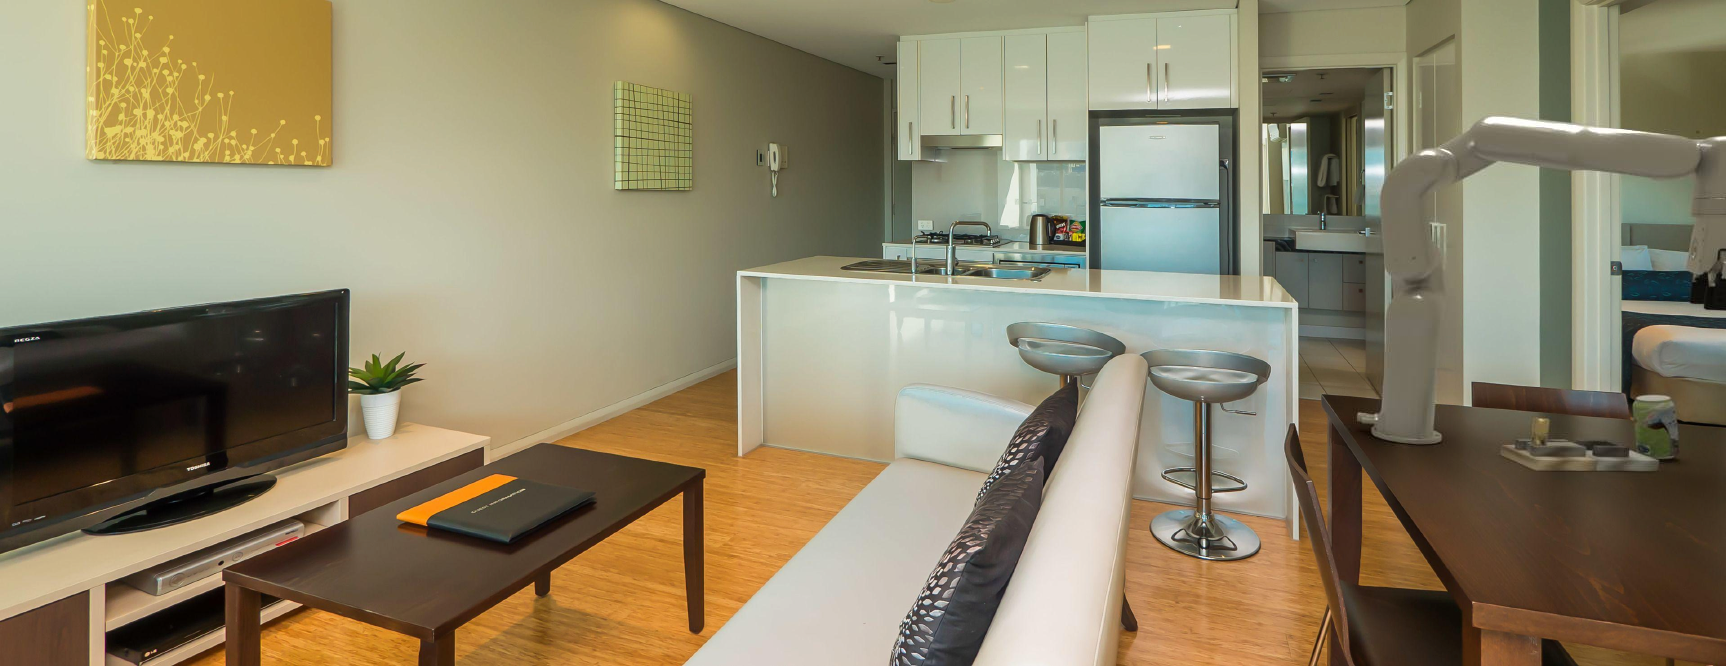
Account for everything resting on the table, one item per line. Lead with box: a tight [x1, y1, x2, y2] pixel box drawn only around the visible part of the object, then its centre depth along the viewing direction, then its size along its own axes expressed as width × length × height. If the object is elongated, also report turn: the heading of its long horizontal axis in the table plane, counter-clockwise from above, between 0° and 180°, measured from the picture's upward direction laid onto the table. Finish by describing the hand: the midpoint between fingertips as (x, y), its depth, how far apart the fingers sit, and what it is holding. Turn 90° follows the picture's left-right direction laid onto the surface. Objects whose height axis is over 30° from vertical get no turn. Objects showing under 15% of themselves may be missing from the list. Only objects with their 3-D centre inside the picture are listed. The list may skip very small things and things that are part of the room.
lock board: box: [1500, 438, 1660, 472], centre depth 161 cm, size 21×10×4 cm, turn 85°
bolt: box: [1526, 417, 1580, 452], centre depth 161 cm, size 8×2×6 cm, turn 85°
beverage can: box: [1632, 394, 1680, 460], centre depth 163 cm, size 6×7×12 cm
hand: (1708, 307), depth 150 cm, fingers open, 9 cm apart
